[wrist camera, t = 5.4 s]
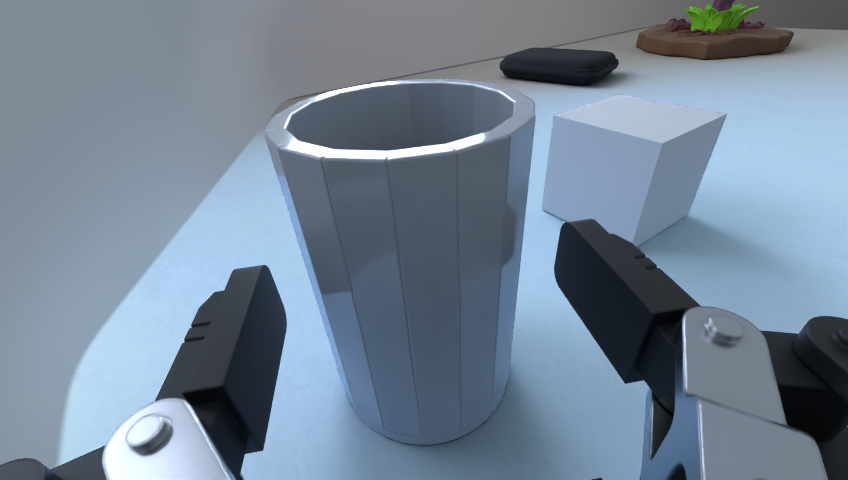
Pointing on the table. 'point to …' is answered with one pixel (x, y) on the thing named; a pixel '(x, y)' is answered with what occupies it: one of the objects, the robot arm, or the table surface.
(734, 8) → the plant
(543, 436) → the table surface
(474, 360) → the pot
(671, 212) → the white cube
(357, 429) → the table surface
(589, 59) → the carrying case
